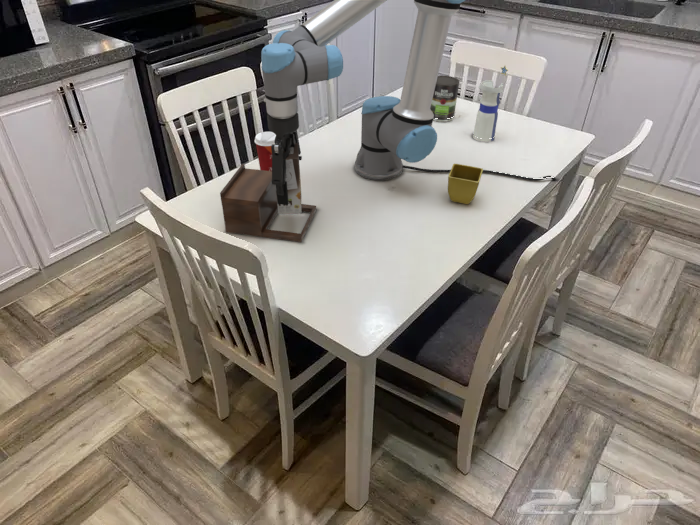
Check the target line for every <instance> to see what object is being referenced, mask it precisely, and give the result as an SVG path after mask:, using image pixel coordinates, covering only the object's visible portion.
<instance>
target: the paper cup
mask: <svg viewBox="0 0 700 525" xmlns="http://www.w3.org/2000/svg"><path fill="white" fill-rule="evenodd" d="M275 137H276V135H275V134H274V133H273V132H271V131H262V132H259V133H257V134H256V135H255V137H254V144H255V146H256V153H257V158H258V164H259V165H258V166H259V170H265V171H272V150H271V145H272V144H275Z"/></svg>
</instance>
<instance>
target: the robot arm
mask: <svg viewBox="0 0 700 525" xmlns="http://www.w3.org/2000/svg"><path fill="white" fill-rule="evenodd" d="M385 2H388V0H332V1H331V2H329V3H328V4H327V5H326V6H324V7H323V8H322V9H320V10H319V11H318V12H316V13H315V14H314V15H312V16H310V17H309V19H307V20H305V21H304V22H302V23H301V24H300V25H298V26H297V27H296V28H295V29H293V30H290V29H289V30H288V29H284V30H281V31H278V32H277V33H276V34H275V36H274V37H273V40H272V43H269V44H266V45H264V47H263V48H262V49H261V52H260V53H261V57H260V59H261V60H260V62H261V67H260V68H261V71H262V79H263V86H264V98H263V102H264V103H265V108H266V113H267V115H266V120H267V128H268V130H269V132H273V133H274V134H275V135H276V137H275V145H274V144H272V145H271V150H272V184H273V185H276V192H277V202H278V204H282V205H288V204H289V202H288V190H287V181H285V178H286V158H287V157H288V156H289V153H290V147H294V146H295V143H298V152H299V161H302V160H303V156H302V155H301V154H302V153H301V145H300V140H299V135H298V134H299V133H298V130H299V128H300V119H299V101H298V100H299V99H298V87H300V86H304V85H309V84H314V83H318V82H324V81H329V80H332V79H336V78H338V77H340V76H341V75H342V73H343V72H344V71H343V70H344V57H343V54H342V52H341V50H340V49H339V47H338V46H336V45H335V44H330V43H331V42H333V41H334V40H336V39H337V38H339V37H340V36H341V35H342V34H343V33H345V32H346V31H348V30H349V29H350V28H352V27H353V26H355V25H356V24H357V23H359V22H360V21H361V20H363V19H364V18H366V17H367V16H368V15H369V14H370V13H372V12H373V11H375V10H377V8H379V7H380V6H382V5H384V3H385ZM463 2H466V0H413V3H414V5H415V6H416V9H417V16H416V20H415V25H414V30H413V35H412V39H411V45H410V50H409V55H408V60H407V65H406V70H405V75H404V80H403V85H402V89H401V96H400V98H399V97H396V96H390V95H380V96H374V97H370V98H368V99H365V100H364V102H363V103H362V106H361V132H360V133H361V137H360V139H361V142H360V147H359V150H358V152H357V155H356V158H355V161H354V170H355V172H356V174H358V175H359V176H360V177H362V178H365V179H368V180H372V181H388V180H392V179H395V178H397V177H399V176H400V175H401V174H402V172H403V169H407V170H412V171H417V172H424V173H425V172H426V173H450V171H451V169H429V168H421V167H415V166H410V165H404V164H403V161H405V162H407V163H410V164H411V163H412V164H413V163H419V162H421V161H423V160H424V159H426V158H427V157H428V156H429V155H430V154H431V153H432V152H433V151H434V149H435V147H436V145H437V142H438V133H437V131H436V129H435V128H434V127H433V122H434V120H433V118H434V114H433V113H432V111H431V109H430V107H431V103H432V98H433V94H434V90H435V86H436V81H437V77H438V76H439V72H440V68H441V64H442V60H443V55H444V51H445V46H446V42H447V39H448V34H449V29H450V25H451V21H452V17H453V16H454V15H455V14H456V13H458V12H459V11H460V9H461V5H462V3H463ZM283 151H286V153H283ZM283 159H285V160H283ZM493 171H494V170H489V169H488V170H487V169H483V172H482V174H483V173H485V174H492V175H499V176H504V177H510V178H514V179H521V180H525V181H532V182H538V181H539V182H540V181H543V180H547V179H548V178H546V177H551V176H552V175H544V176H542V177H543V178H546V179H533V178H534V177H528V178H526V177H527V176H523V177H521V176H522V175H518V176H516V175H517V174H513V175H510V174H511V173H507V174H505V173H506V172H502V173H499V172H500V171H496V172H493ZM553 177H554V178H550V179H551V180H552V181H554V182H556V181H557V178H556V177H555V176H553Z"/></svg>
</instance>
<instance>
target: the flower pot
mask: <svg viewBox="0 0 700 525" xmlns="http://www.w3.org/2000/svg"><path fill="white" fill-rule="evenodd" d="M450 170H451V171H450V172H448V176H447V194H448V197H449V199H450V201H451V202H455V203H459V204H465V205H469V204H470V203H471V202H472V201H473V200H474V199H475V197H476V194H477V191H478V188H479V185H480V182H481V178H482V175H483V170H484V168H481V167H478V166H472V165H467V164H466V165H465V164H460V163H453V164H452V166H451V168H450Z"/></svg>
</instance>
